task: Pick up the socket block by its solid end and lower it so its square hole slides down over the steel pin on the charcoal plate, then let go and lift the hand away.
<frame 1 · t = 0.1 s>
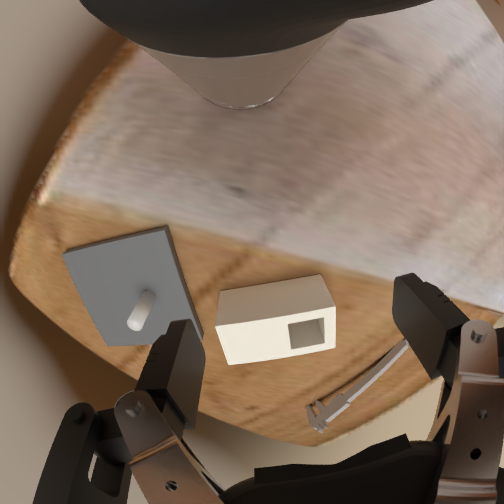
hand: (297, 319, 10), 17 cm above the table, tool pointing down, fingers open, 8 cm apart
socket block: (273, 303, 30), on the table
pin plate: (132, 293, 30), on the table
caliper: (357, 373, 37), on the table
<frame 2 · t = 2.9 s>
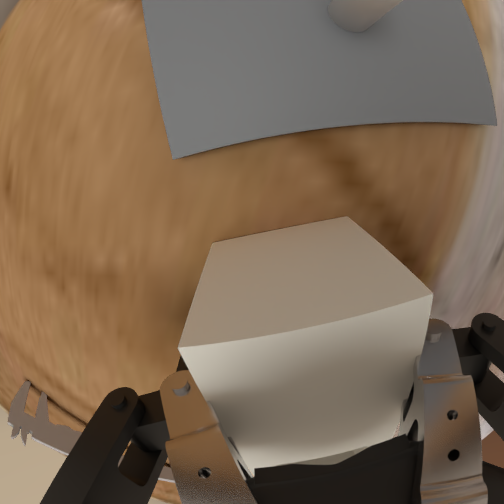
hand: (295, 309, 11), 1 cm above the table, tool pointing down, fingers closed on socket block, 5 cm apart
socket block: (299, 337, 13), on the table, touching gripper
caliper: (120, 439, 18), on the table
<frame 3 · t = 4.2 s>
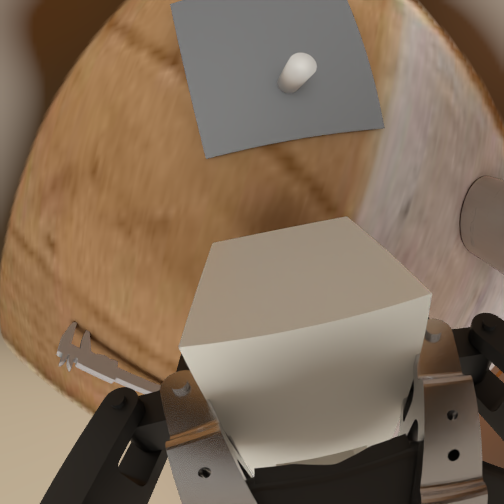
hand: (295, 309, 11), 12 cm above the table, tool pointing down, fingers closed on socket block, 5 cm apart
socket block: (298, 337, 13), point 11 cm above the table, touching gripper
pin plate: (277, 56, 17), on the table
caliper: (145, 369, 28), on the table
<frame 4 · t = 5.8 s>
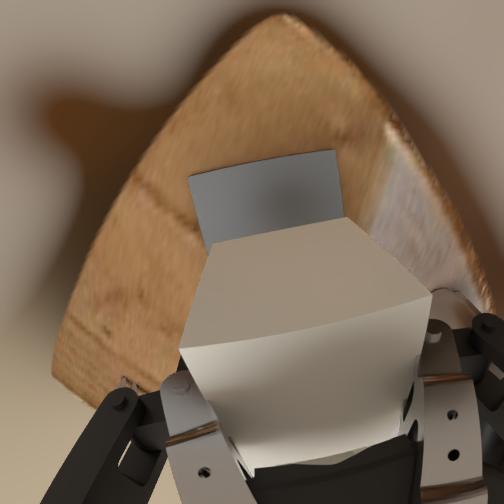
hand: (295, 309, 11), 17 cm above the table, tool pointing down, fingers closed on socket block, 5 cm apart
socket block: (298, 338, 13), point 16 cm above the table, touching gripper
pin plate: (274, 228, 28), on the table
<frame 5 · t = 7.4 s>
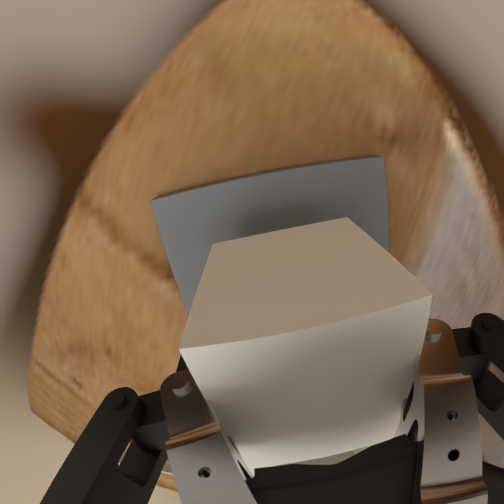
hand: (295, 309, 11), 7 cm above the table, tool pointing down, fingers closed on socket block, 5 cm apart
socket block: (299, 338, 13), point 6 cm above the table, touching gripper
pin plate: (286, 275, 18), on the table
when the fingers open (4 cm above the table, at t = 8.8 s): socket block drops 1 cm, resting on pin plate.
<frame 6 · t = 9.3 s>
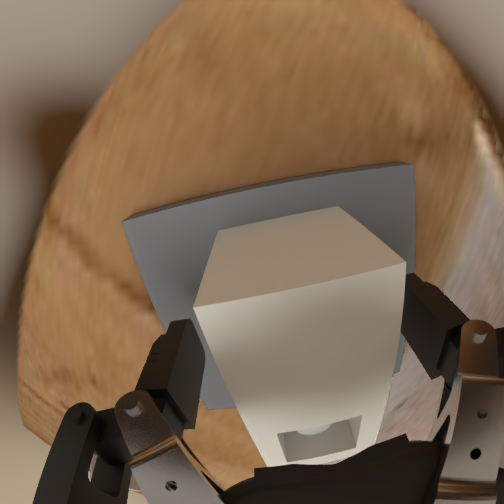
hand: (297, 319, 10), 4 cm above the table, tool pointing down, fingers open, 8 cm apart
socket block: (297, 319, 14), point 1 cm above the table, touching pin plate
pin plate: (291, 307, 15), on the table
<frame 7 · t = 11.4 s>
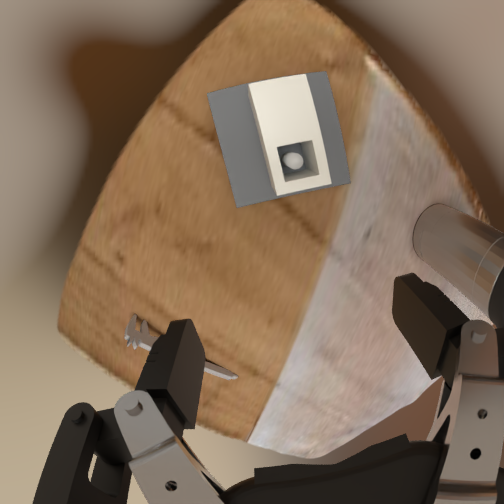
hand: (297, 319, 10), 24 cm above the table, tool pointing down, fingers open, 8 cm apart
socket block: (283, 135, 29), point 1 cm above the table, touching pin plate
pin plate: (281, 136, 30), on the table
caliper: (187, 347, 42), on the table
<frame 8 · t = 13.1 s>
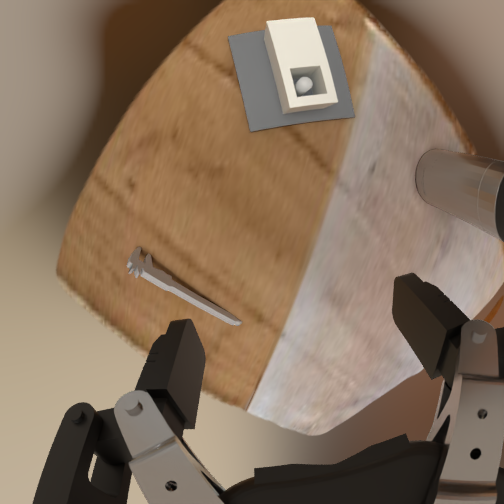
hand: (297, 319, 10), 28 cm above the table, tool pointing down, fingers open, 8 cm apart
socket block: (294, 71, 29), point 1 cm above the table, touching pin plate
pin plate: (291, 74, 30), on the table
caliper: (190, 286, 42), on the table
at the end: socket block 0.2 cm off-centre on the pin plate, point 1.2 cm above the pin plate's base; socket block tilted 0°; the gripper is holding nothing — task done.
